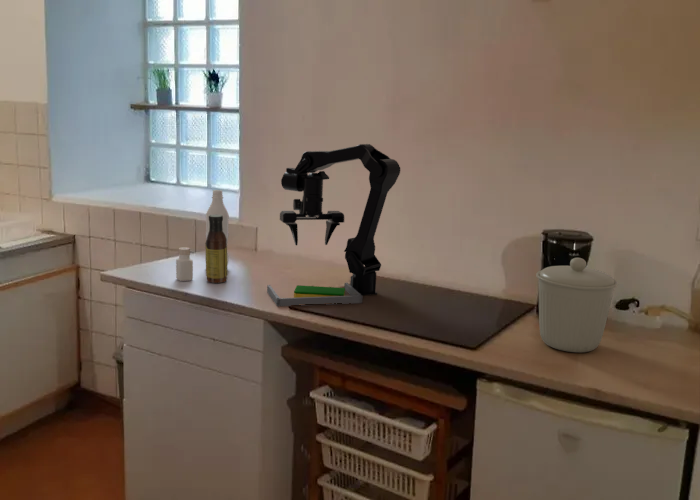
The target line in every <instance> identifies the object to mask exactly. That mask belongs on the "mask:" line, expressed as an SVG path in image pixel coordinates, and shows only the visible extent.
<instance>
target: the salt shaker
mask: <svg viewBox="0 0 700 500" xmlns="http://www.w3.org/2000/svg"><path fill="white" fill-rule="evenodd" d="M190 255H191V248H190V247H183V246H182V247H179V248H178V258H177V259H176V260H175V264H176V265H175V269H176V270H175V271H176V273H175V277H176V279H177V280H178V281H179V282H189V281H193V278H194V277H193V275H194V273H193V271H194V266H193V265H194V263H193V259H192V258H191V257H190Z"/></svg>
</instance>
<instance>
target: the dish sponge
mask: <svg viewBox="0 0 700 500" xmlns="http://www.w3.org/2000/svg"><path fill="white" fill-rule="evenodd" d="M327 296H346V290H345V288H344V287H335V286H333V287H332V286H318V285H317V286H315V285H296V287H295V288H294V290H293V298H300V297H327Z"/></svg>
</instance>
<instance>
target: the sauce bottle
mask: <svg viewBox="0 0 700 500" xmlns="http://www.w3.org/2000/svg"><path fill="white" fill-rule="evenodd" d="M222 221H223V216H222V215H218V214H215V215H209V225H210V228H209V233H208V237H207V240H206V239H205V240H206V241H205V243H204V244H205V257H206V260H205V276H206V281H207V282H208V283H212V284H223V283H225V282H227V280H228V265H227V252H228V242H227V239H226V236H225V234H224V233H223V231H222V230H223V228H222Z"/></svg>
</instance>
